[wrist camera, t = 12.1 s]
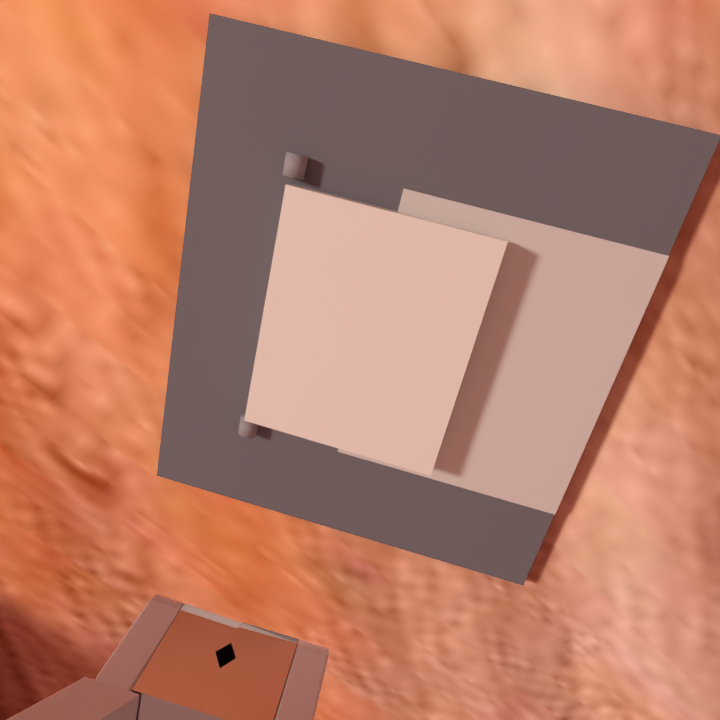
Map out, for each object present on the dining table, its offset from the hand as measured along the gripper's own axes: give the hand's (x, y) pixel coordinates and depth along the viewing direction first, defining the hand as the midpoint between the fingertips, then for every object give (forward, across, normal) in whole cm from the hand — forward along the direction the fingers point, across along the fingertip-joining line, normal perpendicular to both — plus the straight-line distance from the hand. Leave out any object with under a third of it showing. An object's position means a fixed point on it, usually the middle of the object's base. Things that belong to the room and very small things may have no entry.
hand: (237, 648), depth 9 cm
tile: (+19, -5, 0) cm, 19 cm away
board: (+20, +1, 0) cm, 20 cm away
